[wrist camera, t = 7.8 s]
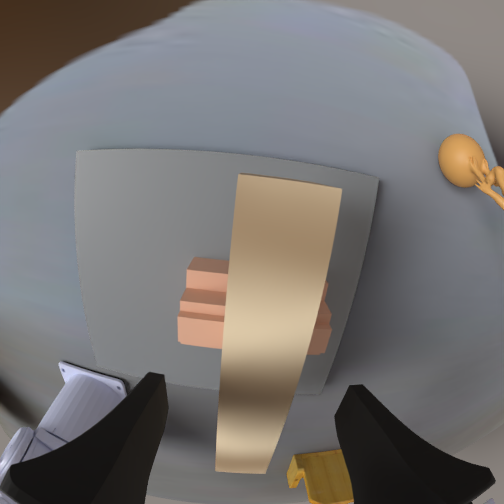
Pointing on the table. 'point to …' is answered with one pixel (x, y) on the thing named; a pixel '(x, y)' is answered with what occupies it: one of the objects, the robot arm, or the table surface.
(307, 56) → the table surface
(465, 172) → the figurine
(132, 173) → the board
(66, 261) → the table surface
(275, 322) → the pine batten
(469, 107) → the table surface
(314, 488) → the yellow toy chair
